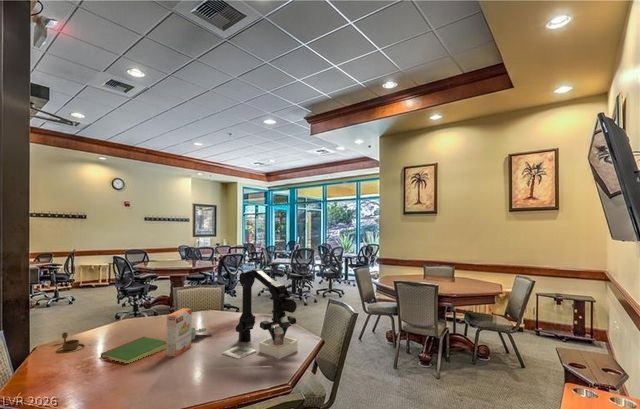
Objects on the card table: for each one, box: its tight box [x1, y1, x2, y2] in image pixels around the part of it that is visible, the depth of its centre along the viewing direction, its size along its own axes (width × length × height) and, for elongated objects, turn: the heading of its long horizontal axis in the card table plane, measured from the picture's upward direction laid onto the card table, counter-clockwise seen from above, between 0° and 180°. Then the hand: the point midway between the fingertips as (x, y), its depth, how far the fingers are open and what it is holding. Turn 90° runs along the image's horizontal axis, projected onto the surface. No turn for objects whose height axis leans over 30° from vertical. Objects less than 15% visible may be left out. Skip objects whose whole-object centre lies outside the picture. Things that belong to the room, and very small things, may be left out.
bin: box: [258, 336, 298, 360], centre depth 177 cm, size 14×14×6 cm
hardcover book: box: [100, 336, 166, 364], centre depth 175 cm, size 25×19×4 cm
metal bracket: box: [191, 327, 214, 340], centre depth 201 cm, size 14×6×15 cm
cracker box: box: [165, 307, 193, 358], centre depth 177 cm, size 14×6×21 cm, turn 169°
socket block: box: [221, 344, 257, 360], centre depth 174 cm, size 12×12×2 cm
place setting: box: [56, 332, 91, 354], centre depth 183 cm, size 18×20×6 cm
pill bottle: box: [273, 324, 284, 347], centre depth 177 cm, size 5×5×10 cm
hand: (278, 339), depth 177 cm, fingers closed on pill bottle, 5 cm apart
